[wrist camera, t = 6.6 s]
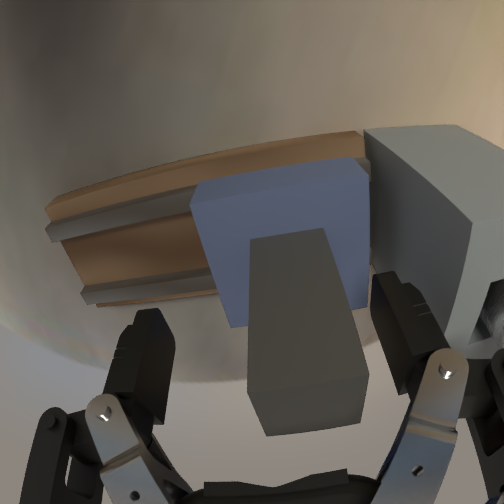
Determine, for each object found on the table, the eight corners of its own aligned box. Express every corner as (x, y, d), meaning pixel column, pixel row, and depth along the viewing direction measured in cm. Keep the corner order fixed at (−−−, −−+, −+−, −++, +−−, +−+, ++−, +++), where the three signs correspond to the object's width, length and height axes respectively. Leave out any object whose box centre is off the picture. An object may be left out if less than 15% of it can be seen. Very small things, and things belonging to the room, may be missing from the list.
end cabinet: (363, 129, 15) (472, 222, 7) (455, 124, 14) (582, 203, 6) (367, 259, 20) (422, 391, 11) (445, 245, 19) (520, 355, 11)
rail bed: (56, 196, 17) (38, 214, 15) (354, 130, 15) (369, 141, 13) (104, 293, 22) (93, 315, 20) (360, 255, 20) (370, 278, 18)
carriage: (198, 181, 14) (138, 348, 6) (351, 156, 13) (460, 299, 6) (233, 296, 18) (222, 457, 10) (356, 277, 17) (406, 431, 9)
